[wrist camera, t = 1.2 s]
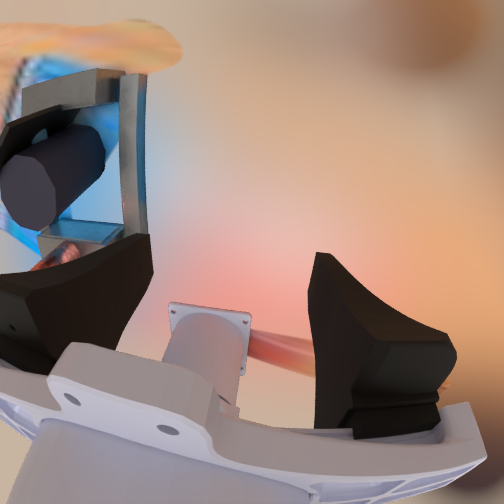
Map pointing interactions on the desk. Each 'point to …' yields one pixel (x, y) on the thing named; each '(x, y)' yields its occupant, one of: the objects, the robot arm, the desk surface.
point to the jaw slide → (75, 240)
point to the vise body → (130, 126)
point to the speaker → (47, 165)
